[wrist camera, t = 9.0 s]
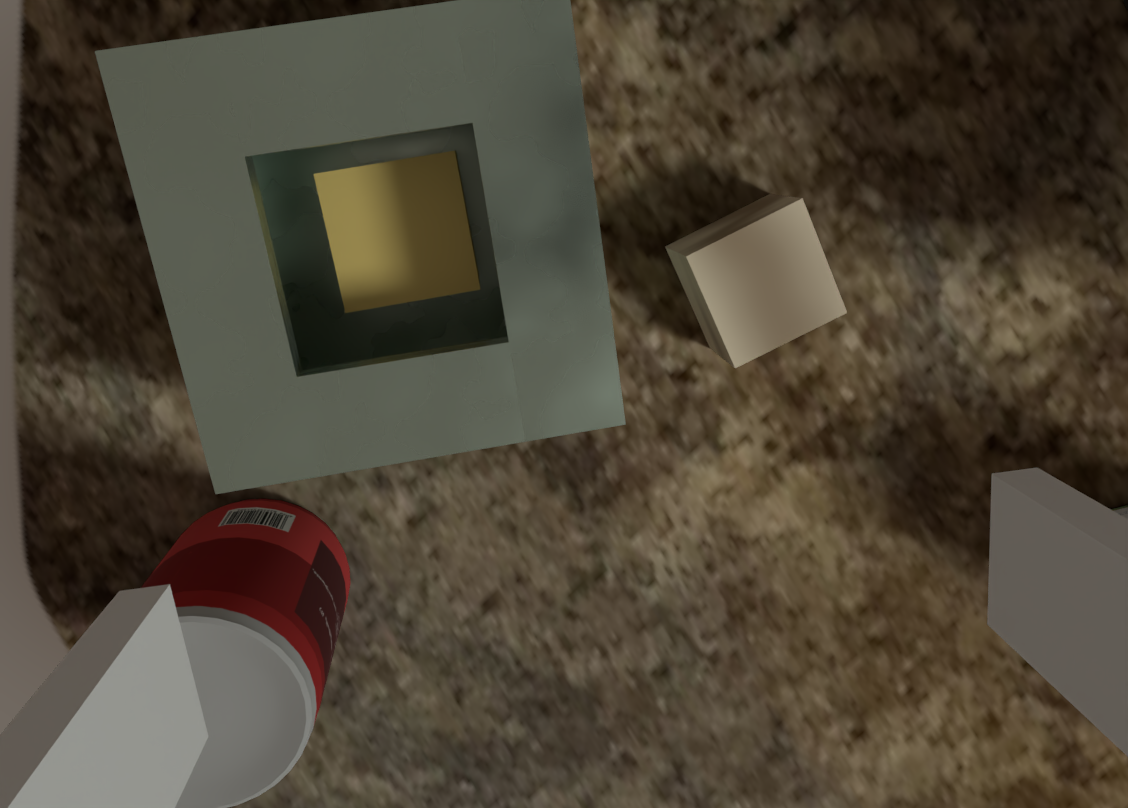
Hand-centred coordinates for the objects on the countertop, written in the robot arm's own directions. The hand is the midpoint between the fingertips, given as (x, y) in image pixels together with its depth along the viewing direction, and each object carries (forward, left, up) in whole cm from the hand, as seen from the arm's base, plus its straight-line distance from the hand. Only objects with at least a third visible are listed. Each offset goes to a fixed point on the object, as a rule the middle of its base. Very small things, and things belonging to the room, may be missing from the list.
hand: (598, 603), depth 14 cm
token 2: (-10, -1, -26) cm, 27 cm away
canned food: (+13, +9, -26) cm, 30 cm away
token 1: (+4, -5, -24) cm, 25 cm away
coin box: (+4, -5, -25) cm, 26 cm away
